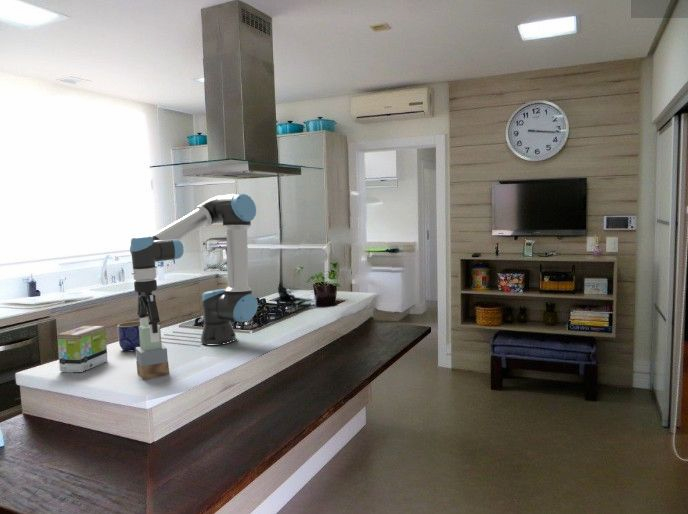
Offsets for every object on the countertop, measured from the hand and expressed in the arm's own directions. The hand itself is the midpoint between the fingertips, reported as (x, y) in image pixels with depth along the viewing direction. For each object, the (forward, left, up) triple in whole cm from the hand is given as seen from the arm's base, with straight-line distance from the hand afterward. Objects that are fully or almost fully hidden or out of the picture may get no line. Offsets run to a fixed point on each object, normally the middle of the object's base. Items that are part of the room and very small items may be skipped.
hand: (150, 338), depth 185 cm
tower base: (0, 0, -14) cm, 14 cm away
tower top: (0, 0, -8) cm, 9 cm away
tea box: (+18, -29, -14) cm, 37 cm away
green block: (0, 0, -4) cm, 4 cm away
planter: (-3, -43, -14) cm, 45 cm away
